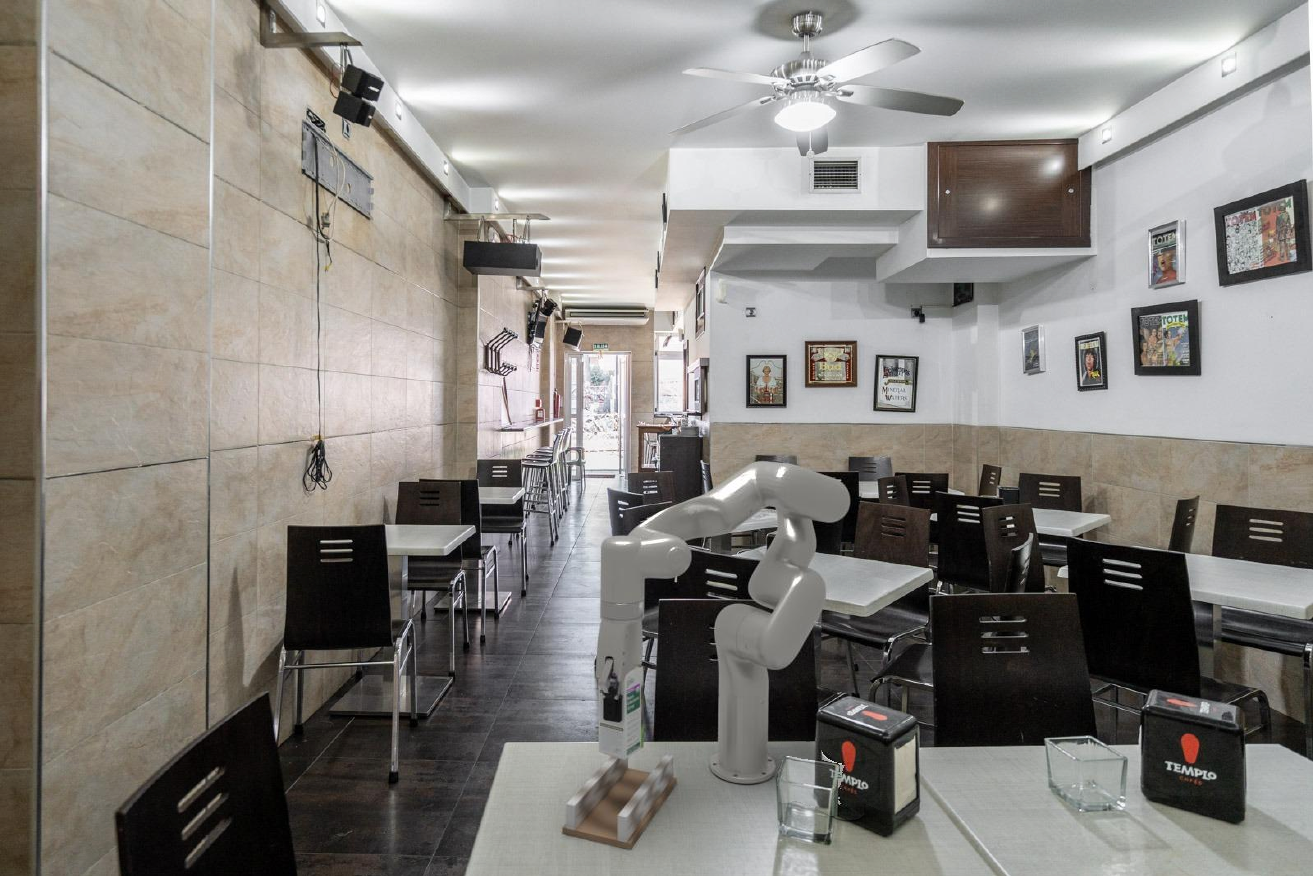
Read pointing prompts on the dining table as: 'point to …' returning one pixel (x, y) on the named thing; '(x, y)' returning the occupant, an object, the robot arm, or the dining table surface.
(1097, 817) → the dining table surface
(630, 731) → the syrup box
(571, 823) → the track
